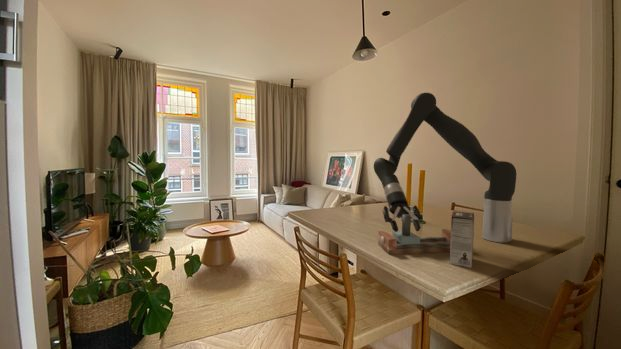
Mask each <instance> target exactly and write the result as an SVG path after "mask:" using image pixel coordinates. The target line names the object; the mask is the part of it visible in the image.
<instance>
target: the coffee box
mask: <svg viewBox="0 0 621 349" xmlns="http://www.w3.org/2000/svg"><path fill="white" fill-rule="evenodd" d="M450 220H451V224H450V226H451V228H450V230H451V246H450V252H449V265H454V266H455V265H456V266H459V267H465V268H470V269H472V268H473V254H474V253H473V252H474V236H475V234H474V233H475V232H474V230H475V214H474V212H466V211H452V214H451V219H450Z"/></svg>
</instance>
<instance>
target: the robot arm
mask: <svg viewBox="0 0 621 349" xmlns="http://www.w3.org/2000/svg"><path fill="white" fill-rule="evenodd" d="M408 113H409V114H408V116H407V118H406V119H405V121H404V122H403V124H402V126H401V127H400V128H399V129H398V131H397V132H396V134H395V135H394V137H393V138H392V140H391V141H390V143H389V144H388V146H387V148H386V149H385V150H386V151H385V152H386V154H387V155H388V156H389V157H388V159H386V158H384V157H378V158H377V159H375V161H374V162H373V170H374V173H375V175H376V176H377V178H378V179H379V180H380V182H381V185H382V188H383V191H384V192H383V193H384V196H385V199H386V201H387V205H388V206H387V205H384V207H383V208H382V214H383V217H384V218H383V219H384V222H385V223H389V224H390V226H391V229H392V230H393V232H399V227H398V224H397V221H396V218H397V219H401V218H402V215H403V214H409V215H411V222H412V224H413V226H414V230H415V231H416V232H420V230H421V225H420V221H421V220H422V219H423V217H422V214H421V212H420V210H419V208H418V206H417V205H413V206H410V205H409V203H408V199H407V198H406V194H405V192H404V189H403V187H402V186H401V183H400V181H399V178H398V176H397V175H396V172H397V171H398V170H397V169H398V167H399V163H400V161H401V157H402V156H403V153H405V151H406V149H407V147H408V145H409V144H410V143H411V140H412V139H413V137H414V136H415V134H416V132H417V130H418V129H419V128H420V126H421V125H422V123H423V122H425V123H426V124H428V125H429V126H430V127H432V129H433V130H434V131H435V132H436V133H437V134H438V135H439V136H440V137H441V138H442V139H443V140H444V142H446V143H447V144H448V145H449V146H450V147H451V148H453V150H455V151H456V152H457V153H458V154H460V155H461V156H462V157H463V158H465V159H466V160H467V161H468V162H469V163H470V164H471V165H473V167H474V168H475V169H476V170H477V172H479V174H481V176H482V177H483V179H486V181H488V182H489V186H488V189H487V190H486V191H485V192H484V195H483V196H484V197H483V199H484V200H483V217H482V218H483V219H482V221H483V222H482V239H485V240H487V241H490V242H493V243H494V242H495V243H500V244H501V243H504V244H505V243H509V242H512V241H513V226H514V224H513V220H514V219H513V218H512V202H513V196H514V194H515V191H516V183H517V169H516V167H515V165H514V164H513V163H512V162H509V161H505V160H504V161H503V160H497V159H496V158H494V157H492V156H491V155H490V154H489V153H488V152H487V151H485V149H484V148H483V147H482V145H481V143H480V142H479V141H480V140H479V139H478V138H477V137H476V135H475V134H474V133H473V132H472V131H471V130H470V129H468V128H467V127H466V126H465V125H464V124H463V123H461V122H459V120H456V119H455V118H452V117H450V116H449V115H447V114H446V113H444V112H443V111H442V110H441V109H440V108H439V107H438V106H437V99H436V96H435V95H434V94H433V93H430V92H421V93H419V94H418V95H416V96H415V97H414V99H413V100H412V101H411V103H410V112H408ZM389 212H390V213H391V214H392V217H390V214H389Z"/></svg>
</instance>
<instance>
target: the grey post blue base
mask: <svg viewBox="0 0 621 349" xmlns="http://www.w3.org/2000/svg"><path fill="white" fill-rule="evenodd" d="M411 222H412V221H411V215H410V214H403V215H402V219H401V230H400V231H397V232H395V231H392V236H393V237H395V238H396V239H397V241H398V242H399V243H400V244H402V245H408V244H420V238H421V236H418V235H417V234H415V233H413V232H412V231H411V226H412V224H411Z"/></svg>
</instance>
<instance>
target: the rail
mask: <svg viewBox="0 0 621 349" xmlns="http://www.w3.org/2000/svg"><path fill="white" fill-rule="evenodd" d="M377 232H378V233H377V234H378V235H377V236H378V237H377V238H378V239H377V240H378V243H377V244H378V246H379V247H380V248H381V249H382V250H383V251H384V252H385V253H386V254H387V255H401V254H402V255H404V254H407V255H408V254H409V255H410V254H425V253H426V254H429V253H431V254H432V253H450V246H451V228H443V229H441V236H434V237H432V236H431V237H430V236H429V237H427V236H426V237H420V244H408V245H402V244H400V243H399V242H398V241H397V239H396V238H395V237H393V234H390V233H389V232H388V231H386V230H378V231H377Z"/></svg>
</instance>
